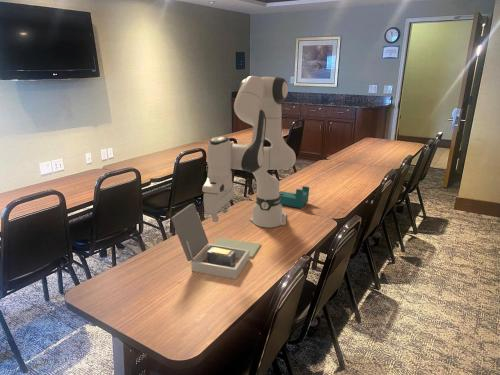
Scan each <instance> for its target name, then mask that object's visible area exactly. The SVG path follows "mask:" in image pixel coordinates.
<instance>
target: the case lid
mask: <svg viewBox="0 0 500 375" xmlns="http://www.w3.org/2000/svg"><path fill="white" fill-rule="evenodd" d="M170 219H171V222H172V224H173V226H174V229H175V233H176V234H177V237H178V239H179V242H180V245H181V247H182V250H183V252H184V254H185V257H186V260H187V262H190V261H191V262H192V260H191V257H190V253H189V250H188V247H187V244H186V241H188V243H189V246H190V249H191V253H192V256H193V259H194V258H195V257H196V256H197V255H198V254H199V253H200V252H201V251H202V250H203V249H204V248H205V247H206V246H207V245H208V244H210V243H209V240H208V237H207V235H206V232H205V229H204V227H203V223H202V221H201V219H200V216H199V213H198V211H197V208H196V205H195V202H193V203H191V204H189V205H187V206H186V207H184V208H183V209H182V210H180V211H179V212H178V213H176V214H175V215H173V216H171V218H170Z"/></svg>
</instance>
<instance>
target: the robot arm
mask: <svg viewBox="0 0 500 375" xmlns="http://www.w3.org/2000/svg"><path fill="white" fill-rule="evenodd" d="M238 87H239V88H238V91H237V94H236V97H235V100H234V103H233V109H234V110H233V111H234V113H235V115H236V116H237V117H238V119H239V120H240V121H242V122H243V123H246V124H248V125H250V126H252V129H253V130H252V134H251V142H250V143H248V144H246V143H245V144H244V143H243V144H242V143H235V142H234V143H233V142H231V141H230V138H228V137H227V136H215V137H212V138H210V139H209V140H208V144H207V148H206V150H207V151H206V164H207V168H208V170H207V177H206V180H205V182H204V184H203V185H202V193H203V207H204V208H203V209H204V212H205V214H207V215H210V216H211V218H212V222H213V223H218V221H219V216H218V213H219V211H220V210H221V209H222V211H221V212H222V214H227V213H228V212H229V209H228V208H229V206H230V205H229V204H230V202H231V201H232V200H233V198H234V196H235V194H234V192H235V191H234V182H233V181H232V180H233V176H232V175H233V174H232V173H233V172H232V170H240V171H245V172H249V173H252V174H253V176H254V178H255V181H256V197H255V204H254V205H252V206H253V208H252V216H251V217H250V218H249V221H250V222H252V223H253V224H254V226H255V225H256V226H258V227H261V228H267V229H268V228H276V227H280V226H286V224H287V213H286V212H284V211H283V205H282V204H281V203H280V194H279V192H280V185H281V184H280V180H279V179H278V178H277V177H275V176H274V175H272V174H269V173H268V171H270V170H271V171H272V170H273V171H274V170H276V171H277V170H278V171H279V170H281V171H282V170H288V169H292V167H294V165H295V164H296V162H297V160H296V159H297V156H296V153H295V151H294V149H293V148H291V147H290V146H289V145H288V144H287V142H286V141H285V139H284V136H283V130H282V129H283V128H282V114H283V112H282V103H283V102H284V101H285V100H286V99H287V97H288V94H289V93H288V92H289V85H288V81H287V80H286V79H285V77H284V78H283V77H280V76H276V77H275V76H274V77H273V76H262V77H261V76H260V77H259V76H257V75H249V76H247V77H246V78H244V79H243V80H241V82H240V84H239V86H238ZM265 140H266V141H268V142H269V143H270V146H265Z"/></svg>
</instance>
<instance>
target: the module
mask: <svg viewBox="0 0 500 375" xmlns="http://www.w3.org/2000/svg"><path fill="white" fill-rule="evenodd" d="M206 259H207V260H206V261H207V262H206V263H209V264H215V265H220V266H226V267H232V268H234V267H235V266H236V258H235V251H231V250H226V249H221V248H216V247H212V248H211V249H210V250H209V251H208V252H207V258H206Z"/></svg>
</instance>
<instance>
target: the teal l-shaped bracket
mask: <svg viewBox="0 0 500 375" xmlns="http://www.w3.org/2000/svg"><path fill="white" fill-rule="evenodd" d="M295 190H296V191H295V193H294V192H288V191H284V190H283V191H282V190H279V194H280V203H281V205H282V206H288V207H293V208H297V209H302V208H304V207H305V204H307V203H309V196H310V187H309V186H306V185H303V186H302V188H301V189H299V188H296V189H295Z"/></svg>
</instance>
